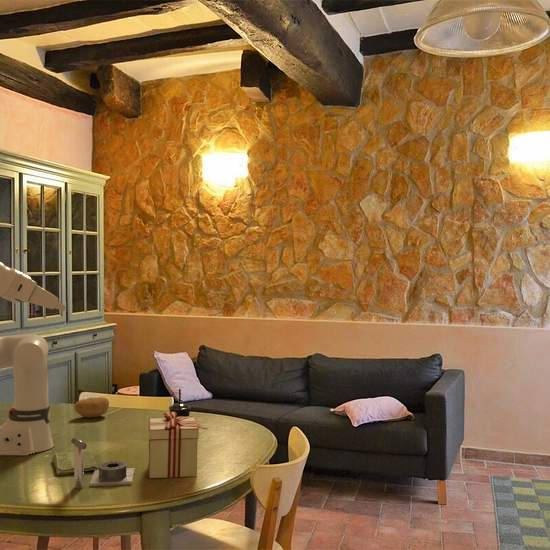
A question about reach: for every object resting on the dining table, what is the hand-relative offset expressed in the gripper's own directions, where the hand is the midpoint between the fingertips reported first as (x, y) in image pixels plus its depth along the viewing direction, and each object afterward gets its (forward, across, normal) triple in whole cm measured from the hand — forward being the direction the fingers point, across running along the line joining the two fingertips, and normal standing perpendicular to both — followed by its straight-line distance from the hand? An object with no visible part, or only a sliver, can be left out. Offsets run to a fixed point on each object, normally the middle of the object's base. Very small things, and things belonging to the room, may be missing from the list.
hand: (58, 306), depth 197 cm
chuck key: (+24, +16, -45) cm, 53 cm away
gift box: (+51, +20, -31) cm, 63 cm away
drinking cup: (+64, -2, -26) cm, 69 cm away
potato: (+59, -58, -33) cm, 89 cm away
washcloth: (+31, -3, -43) cm, 53 cm away
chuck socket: (+34, +16, -40) cm, 54 cm away
